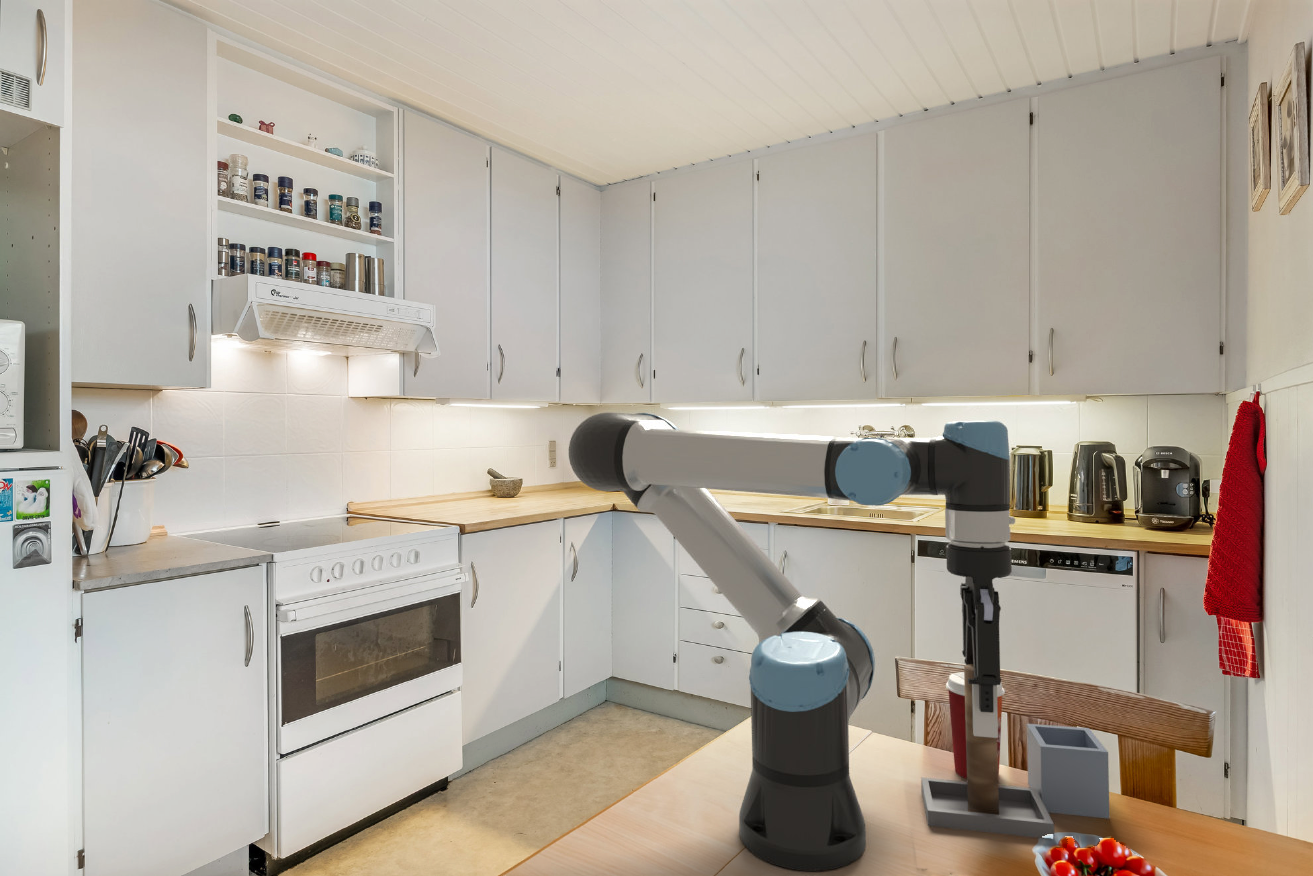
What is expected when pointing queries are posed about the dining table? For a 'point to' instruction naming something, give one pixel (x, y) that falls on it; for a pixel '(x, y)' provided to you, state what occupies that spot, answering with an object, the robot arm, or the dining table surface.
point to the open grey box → (1068, 770)
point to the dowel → (980, 760)
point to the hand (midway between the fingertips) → (981, 726)
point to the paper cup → (959, 721)
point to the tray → (1015, 817)
